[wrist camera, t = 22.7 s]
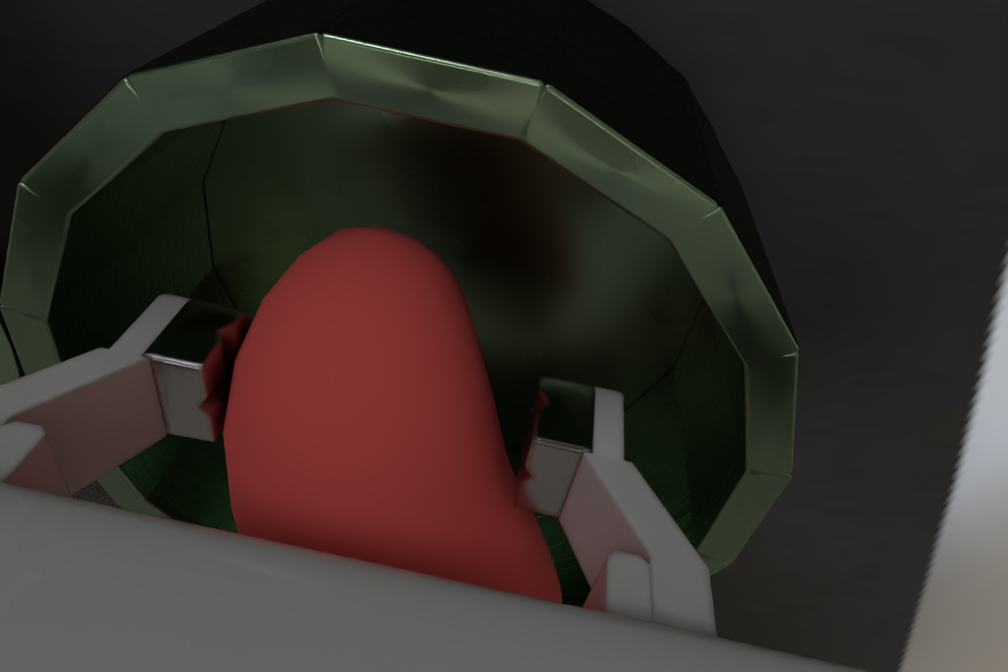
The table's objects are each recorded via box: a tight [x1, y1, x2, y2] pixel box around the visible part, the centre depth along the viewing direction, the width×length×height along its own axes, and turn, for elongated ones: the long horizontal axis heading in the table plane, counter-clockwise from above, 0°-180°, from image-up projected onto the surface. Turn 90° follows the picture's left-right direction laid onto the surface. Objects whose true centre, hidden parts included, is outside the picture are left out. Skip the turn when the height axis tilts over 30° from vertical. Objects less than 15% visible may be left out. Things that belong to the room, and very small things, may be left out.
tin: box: [0, 0, 800, 607], centre depth 14 cm, size 14×14×6 cm
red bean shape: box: [223, 226, 562, 603], centre depth 13 cm, size 5×9×6 cm, turn 10°
